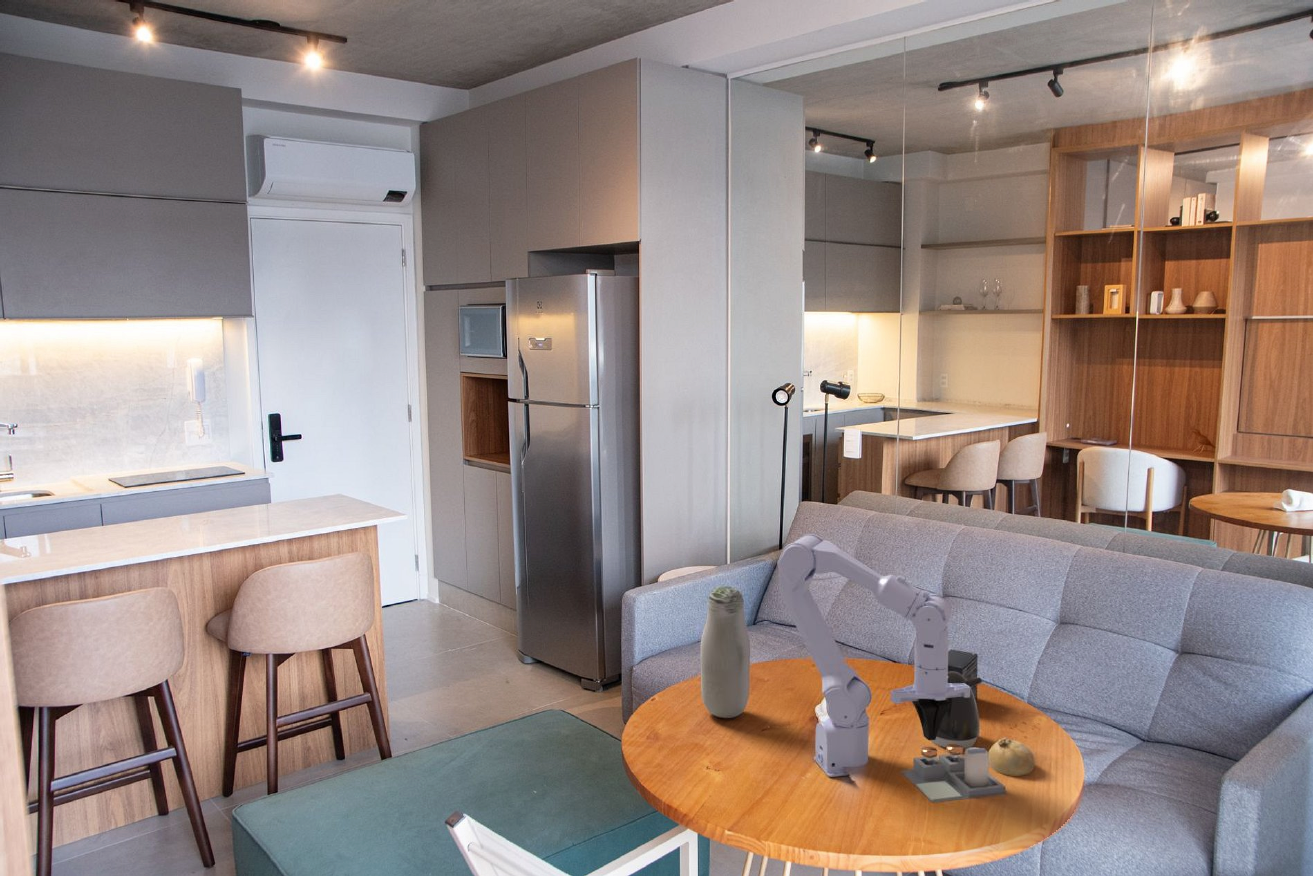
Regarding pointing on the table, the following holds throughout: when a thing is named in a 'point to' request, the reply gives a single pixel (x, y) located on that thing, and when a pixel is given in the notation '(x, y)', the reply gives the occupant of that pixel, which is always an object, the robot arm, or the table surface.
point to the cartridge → (976, 767)
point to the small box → (964, 665)
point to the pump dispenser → (959, 717)
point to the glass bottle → (725, 654)
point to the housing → (948, 780)
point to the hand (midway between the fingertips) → (929, 738)
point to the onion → (1011, 758)
